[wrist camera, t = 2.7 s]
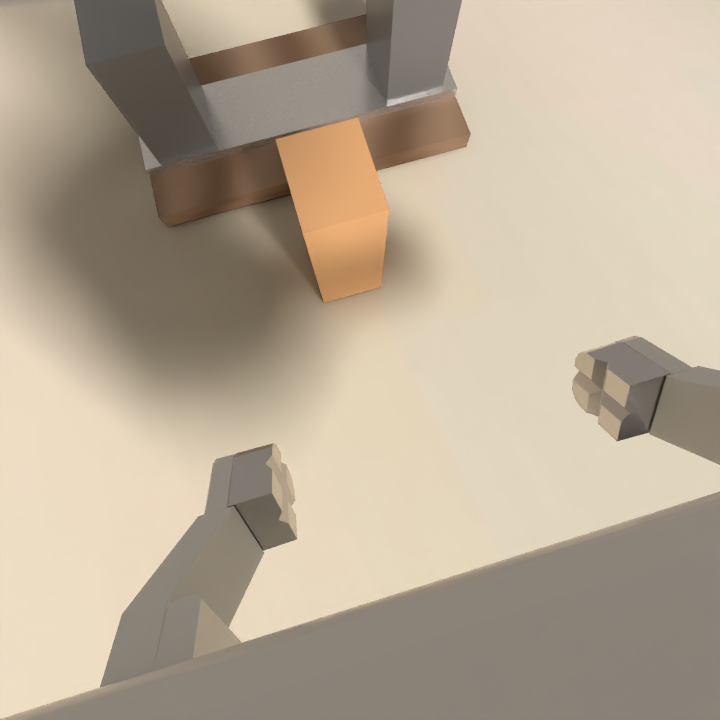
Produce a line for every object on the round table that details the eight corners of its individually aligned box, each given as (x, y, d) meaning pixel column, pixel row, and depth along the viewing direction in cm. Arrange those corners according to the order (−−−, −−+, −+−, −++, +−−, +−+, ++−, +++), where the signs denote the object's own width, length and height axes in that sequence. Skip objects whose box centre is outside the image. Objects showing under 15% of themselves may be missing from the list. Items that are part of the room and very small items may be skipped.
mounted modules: (159, 163, 26) (86, 65, 19) (146, 102, 27) (72, -12, 20) (442, 89, 27) (468, -30, 20) (419, 32, 28) (437, -99, 21)
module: (324, 302, 26) (302, 233, 17) (305, 237, 27) (275, 139, 18) (381, 286, 26) (389, 209, 17) (360, 221, 27) (357, 117, 18)
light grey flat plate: (150, 176, 27) (145, 170, 26) (136, 110, 28) (131, 103, 27) (455, 95, 28) (457, 88, 27) (430, 35, 29) (431, 27, 28)
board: (167, 226, 27) (158, 217, 26) (138, 88, 29) (129, 74, 28) (466, 146, 28) (470, 133, 27) (414, 18, 30) (417, 1, 29)
